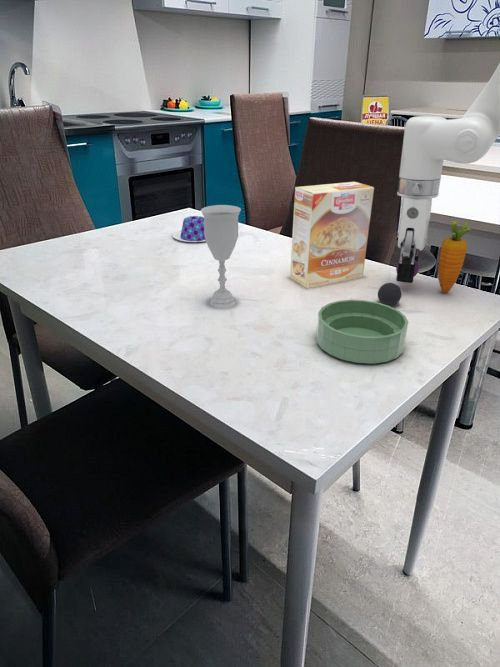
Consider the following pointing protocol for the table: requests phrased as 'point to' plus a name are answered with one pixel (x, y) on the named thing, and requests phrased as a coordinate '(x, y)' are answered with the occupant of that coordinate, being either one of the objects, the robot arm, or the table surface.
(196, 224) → the pudding
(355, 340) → the bowl
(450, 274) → the carrot
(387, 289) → the charcoal ball
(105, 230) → the table surface
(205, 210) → the chalice
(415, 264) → the plum ball
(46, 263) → the table surface
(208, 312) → the table surface
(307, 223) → the coffeecake box
